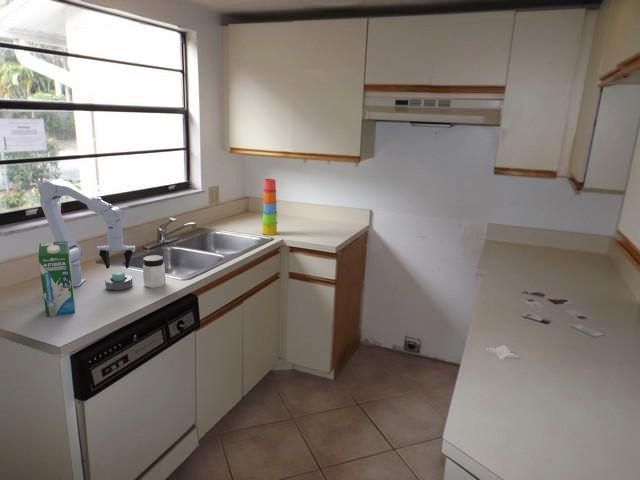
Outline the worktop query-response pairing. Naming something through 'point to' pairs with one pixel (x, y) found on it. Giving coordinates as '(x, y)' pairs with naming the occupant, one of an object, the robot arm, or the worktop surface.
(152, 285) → the jar
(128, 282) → the barrel ring
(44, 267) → the milk carton
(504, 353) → the acanthus leaf ornament
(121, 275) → the mint green cube
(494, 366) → the worktop surface
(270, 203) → the stacking cups
